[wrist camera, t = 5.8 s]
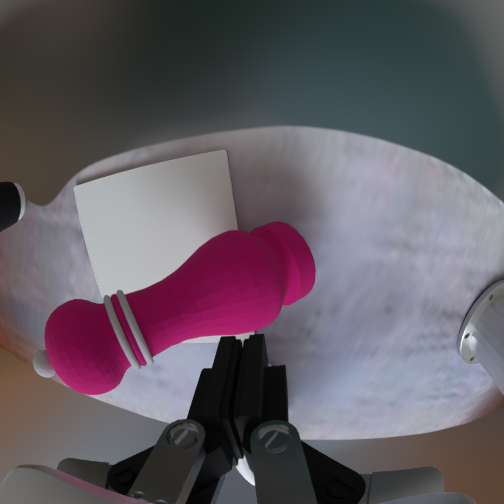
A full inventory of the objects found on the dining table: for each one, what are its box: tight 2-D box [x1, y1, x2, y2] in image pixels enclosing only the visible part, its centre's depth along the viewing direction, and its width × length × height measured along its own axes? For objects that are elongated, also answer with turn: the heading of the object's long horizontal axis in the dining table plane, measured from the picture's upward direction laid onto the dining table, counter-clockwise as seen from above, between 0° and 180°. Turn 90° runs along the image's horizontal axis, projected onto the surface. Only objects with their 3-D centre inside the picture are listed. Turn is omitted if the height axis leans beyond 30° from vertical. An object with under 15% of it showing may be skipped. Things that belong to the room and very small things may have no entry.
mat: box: [74, 149, 255, 343], centre depth 25 cm, size 16×18×1 cm
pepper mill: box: [33, 222, 316, 395], centre depth 17 cm, size 7×7×20 cm
